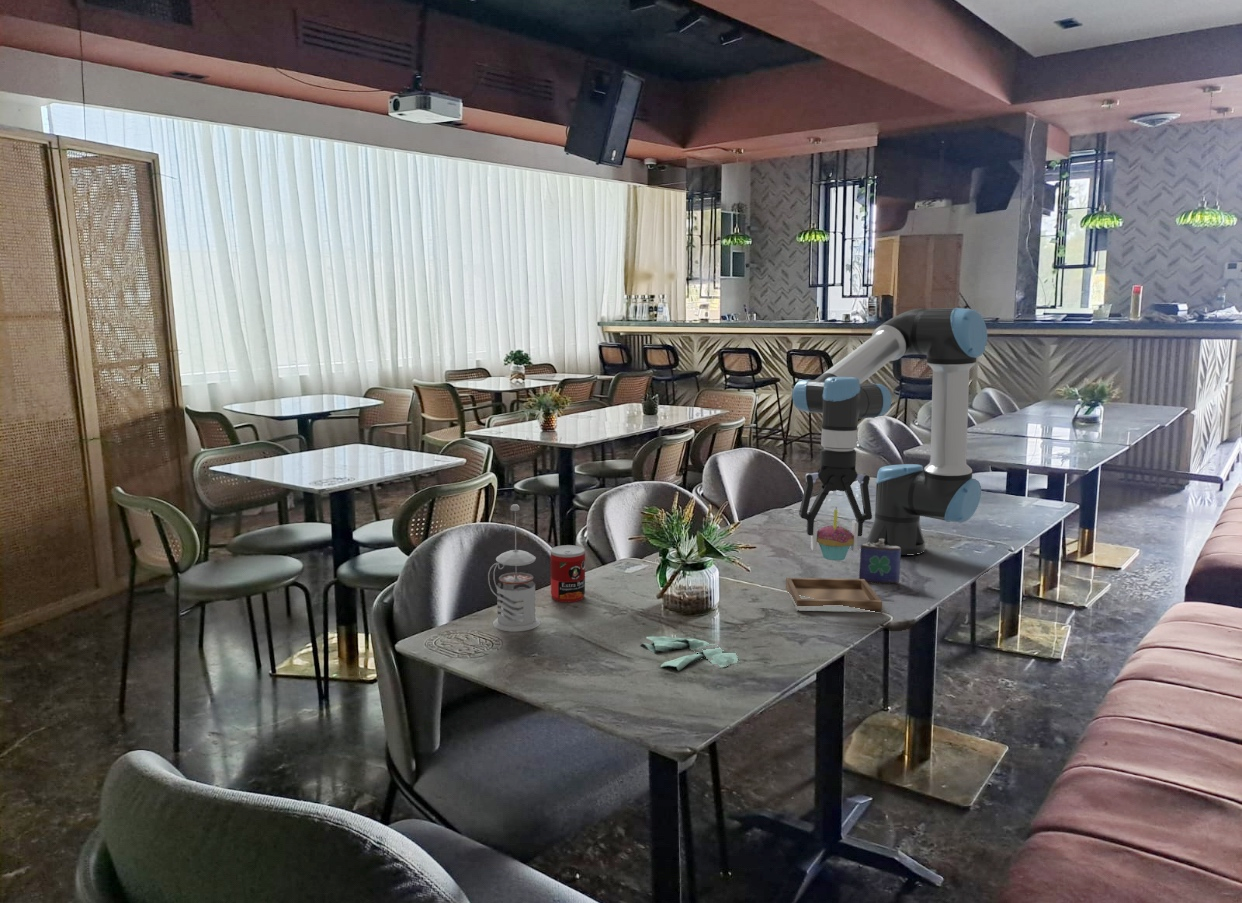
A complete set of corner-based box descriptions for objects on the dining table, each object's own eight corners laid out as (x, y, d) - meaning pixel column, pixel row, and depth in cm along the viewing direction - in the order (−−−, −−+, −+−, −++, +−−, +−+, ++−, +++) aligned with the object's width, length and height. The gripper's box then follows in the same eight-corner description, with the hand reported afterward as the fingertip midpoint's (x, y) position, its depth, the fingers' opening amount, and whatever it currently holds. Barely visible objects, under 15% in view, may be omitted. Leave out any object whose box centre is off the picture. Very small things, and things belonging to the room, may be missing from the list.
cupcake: (854, 564, 188) (857, 509, 186) (814, 561, 189) (816, 507, 187) (852, 553, 196) (854, 501, 194) (813, 551, 198) (815, 499, 196)
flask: (898, 582, 208) (901, 538, 206) (899, 585, 205) (901, 541, 203) (858, 578, 210) (860, 535, 208) (858, 582, 207) (860, 538, 206)
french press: (520, 635, 172) (518, 511, 168) (475, 623, 178) (473, 504, 174) (550, 620, 181) (549, 502, 177) (506, 610, 187) (504, 496, 183)
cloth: (757, 669, 158) (757, 656, 157) (646, 687, 150) (646, 674, 150) (706, 631, 177) (706, 620, 176) (605, 646, 169) (605, 634, 168)
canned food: (559, 604, 190) (559, 556, 188) (545, 594, 197) (544, 547, 195) (591, 599, 194) (591, 551, 192) (576, 589, 201) (575, 543, 199)
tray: (863, 589, 202) (864, 579, 201) (881, 613, 186) (882, 601, 186) (785, 588, 202) (786, 577, 202) (796, 611, 187) (797, 600, 186)
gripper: (882, 446, 192) (877, 546, 196) (787, 445, 193) (783, 544, 196) (891, 451, 185) (885, 555, 188) (792, 450, 185) (788, 553, 189)
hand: (833, 549), depth 192 cm, fingers closed on cupcake, 8 cm apart
